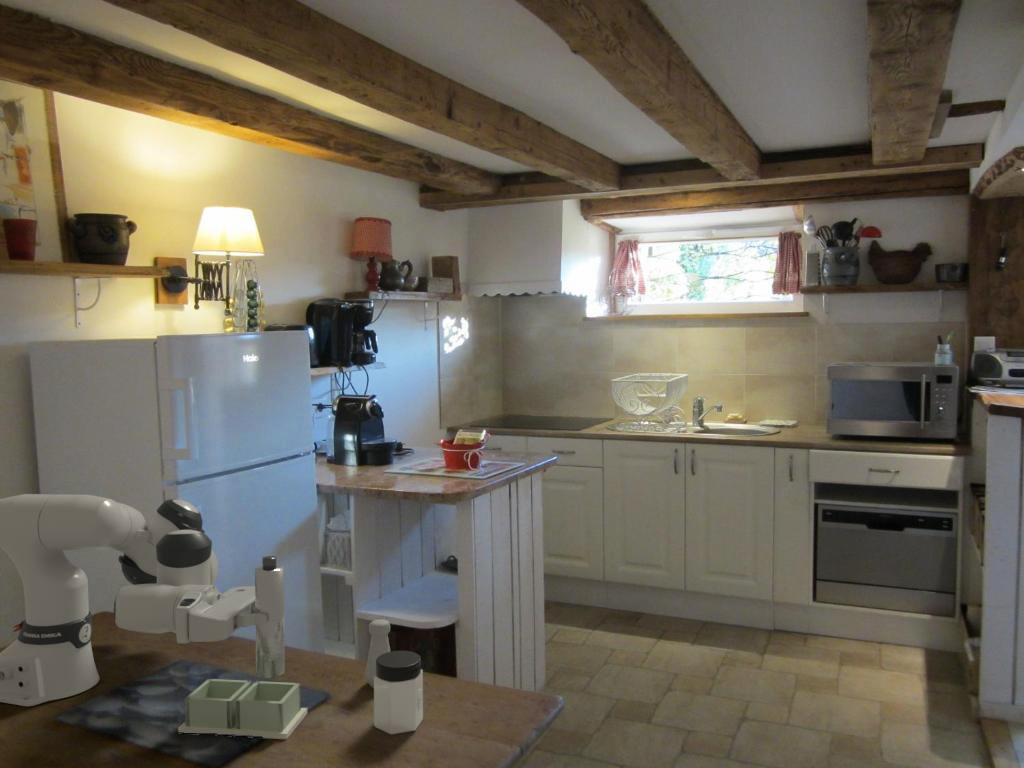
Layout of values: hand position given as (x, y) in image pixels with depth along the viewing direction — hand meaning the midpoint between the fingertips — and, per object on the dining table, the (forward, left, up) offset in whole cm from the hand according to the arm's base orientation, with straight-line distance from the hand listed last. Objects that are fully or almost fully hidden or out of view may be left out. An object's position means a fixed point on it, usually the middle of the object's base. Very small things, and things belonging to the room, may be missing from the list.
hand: (274, 612), depth 145 cm
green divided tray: (-6, 0, -21) cm, 21 cm away
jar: (+22, +3, -21) cm, 30 cm away
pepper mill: (-1, 0, -11) cm, 11 cm away
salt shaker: (+14, +19, -21) cm, 31 cm away
